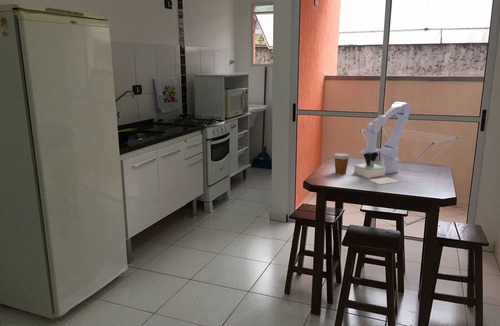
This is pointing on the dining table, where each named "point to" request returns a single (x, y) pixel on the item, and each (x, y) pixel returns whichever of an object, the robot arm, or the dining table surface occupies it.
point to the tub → (369, 172)
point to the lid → (370, 166)
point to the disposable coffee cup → (341, 162)
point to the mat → (383, 180)
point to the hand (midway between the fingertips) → (370, 164)
